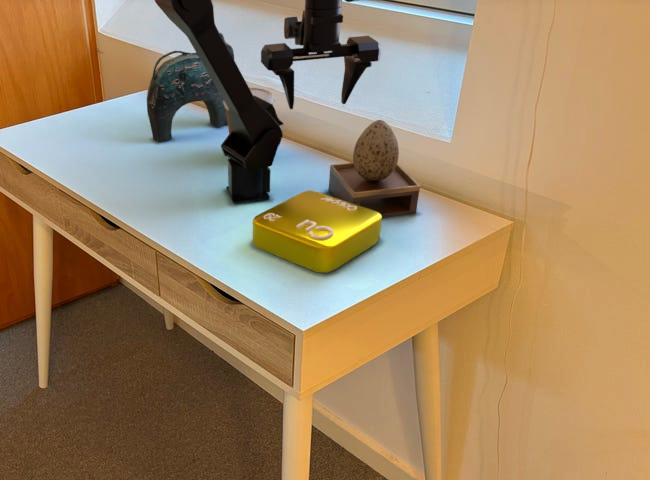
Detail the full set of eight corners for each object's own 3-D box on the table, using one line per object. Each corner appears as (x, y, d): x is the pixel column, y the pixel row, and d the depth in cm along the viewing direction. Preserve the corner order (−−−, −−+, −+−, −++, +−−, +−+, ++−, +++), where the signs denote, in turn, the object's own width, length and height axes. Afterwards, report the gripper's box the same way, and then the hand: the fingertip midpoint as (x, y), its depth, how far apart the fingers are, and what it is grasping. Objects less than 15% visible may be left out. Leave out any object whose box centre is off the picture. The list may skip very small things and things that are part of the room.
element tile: (384, 239, 111) (388, 211, 108) (325, 277, 103) (327, 247, 100) (307, 212, 120) (308, 184, 117) (246, 244, 112) (246, 216, 109)
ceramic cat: (224, 117, 159) (222, 19, 147) (241, 125, 154) (240, 25, 142) (145, 137, 151) (137, 36, 139) (161, 146, 147) (153, 42, 135)
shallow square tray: (351, 221, 116) (353, 193, 114) (328, 191, 126) (330, 164, 123) (415, 213, 118) (420, 185, 115) (388, 184, 127) (391, 158, 124)
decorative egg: (398, 174, 121) (405, 114, 115) (392, 191, 115) (400, 129, 109) (355, 170, 123) (360, 111, 117) (347, 186, 118) (352, 126, 112)
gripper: (362, -8, 121) (354, 87, 130) (253, 1, 119) (253, 97, 128) (387, 5, 112) (376, 106, 121) (270, 15, 110) (268, 117, 119)
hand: (317, 106), depth 123 cm, fingers open, 9 cm apart
